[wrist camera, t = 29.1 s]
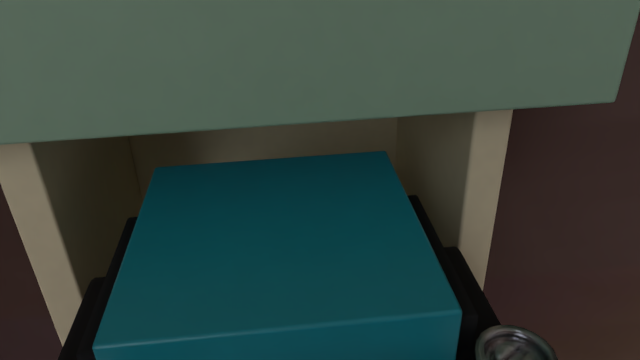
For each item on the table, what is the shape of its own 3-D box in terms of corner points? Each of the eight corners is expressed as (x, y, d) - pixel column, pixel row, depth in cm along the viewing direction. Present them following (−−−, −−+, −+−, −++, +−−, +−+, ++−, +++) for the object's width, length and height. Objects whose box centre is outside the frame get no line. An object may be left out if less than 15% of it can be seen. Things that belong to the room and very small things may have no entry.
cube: (386, 149, 11) (464, 311, 7) (379, 316, 14) (434, 511, 10) (154, 165, 11) (88, 347, 7) (189, 335, 14) (158, 546, 9)
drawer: (413, 321, 23) (474, 488, 17) (147, 348, 22) (104, 536, 16) (457, -193, 14) (630, -258, 7) (4, -184, 13) (-239, -250, 6)
